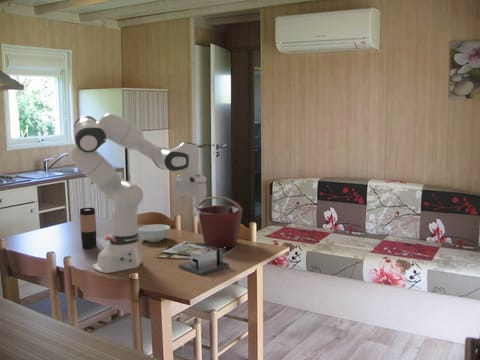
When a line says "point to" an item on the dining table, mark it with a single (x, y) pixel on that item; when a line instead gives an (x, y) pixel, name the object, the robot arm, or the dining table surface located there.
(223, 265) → the coupler plate
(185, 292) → the dining table surface
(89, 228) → the travel mug
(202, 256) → the block
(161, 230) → the cereal bowl
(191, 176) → the robot arm
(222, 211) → the bucket
